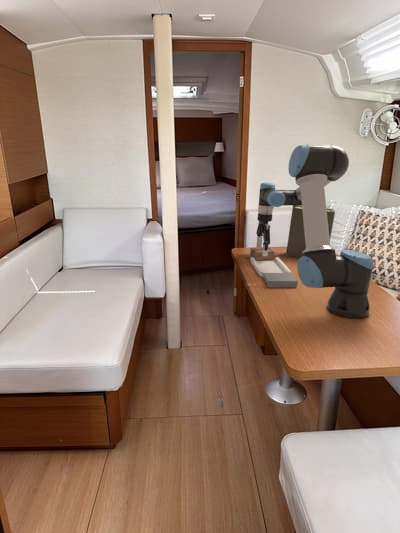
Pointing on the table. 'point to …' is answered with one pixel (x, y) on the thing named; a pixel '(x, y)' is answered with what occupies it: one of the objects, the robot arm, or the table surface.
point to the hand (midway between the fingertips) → (261, 251)
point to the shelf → (269, 266)
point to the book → (302, 231)
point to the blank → (258, 254)
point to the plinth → (279, 280)
